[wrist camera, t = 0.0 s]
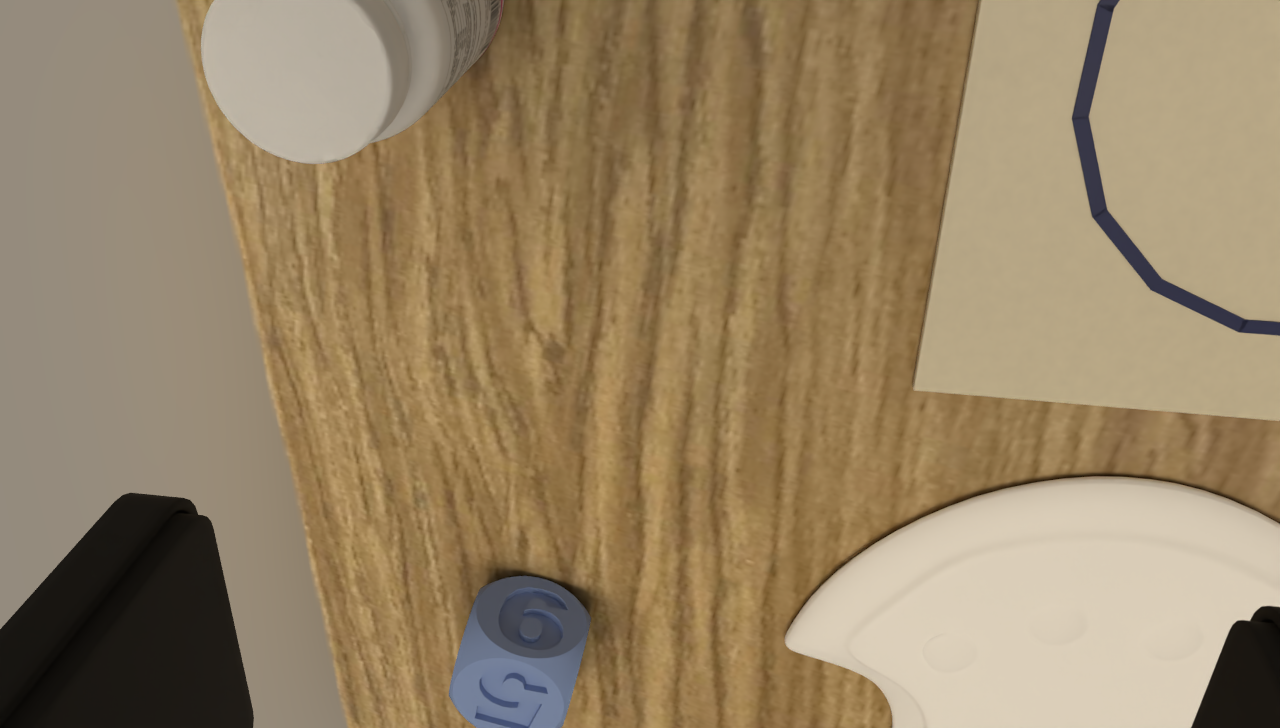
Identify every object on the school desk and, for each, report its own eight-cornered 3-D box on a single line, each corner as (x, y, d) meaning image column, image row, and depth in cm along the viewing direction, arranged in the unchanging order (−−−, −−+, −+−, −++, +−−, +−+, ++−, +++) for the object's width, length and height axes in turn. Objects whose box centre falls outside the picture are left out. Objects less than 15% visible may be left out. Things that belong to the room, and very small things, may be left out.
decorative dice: (471, 640, 41) (441, 723, 37) (489, 561, 39) (459, 642, 35) (575, 668, 41) (554, 754, 37) (598, 591, 39) (578, 674, 35)
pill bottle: (296, -31, 29) (131, 46, 22) (419, -153, 27) (282, -114, 20) (419, 109, 31) (302, 224, 24) (544, 2, 29) (458, 91, 22)
